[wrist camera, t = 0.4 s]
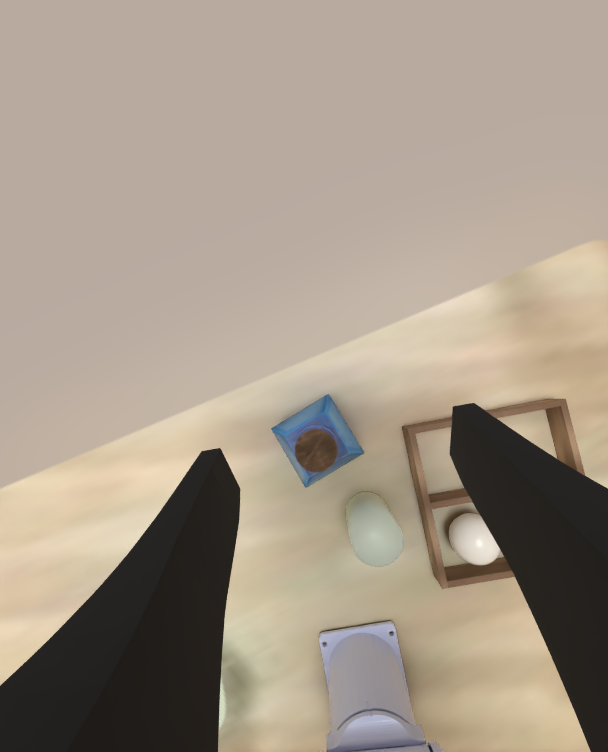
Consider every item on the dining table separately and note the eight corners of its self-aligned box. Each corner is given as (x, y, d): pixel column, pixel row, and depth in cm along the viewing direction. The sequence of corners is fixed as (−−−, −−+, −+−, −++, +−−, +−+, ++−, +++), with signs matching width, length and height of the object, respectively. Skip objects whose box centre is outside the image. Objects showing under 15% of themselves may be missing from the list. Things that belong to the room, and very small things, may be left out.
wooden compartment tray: (586, 549, 34) (606, 561, 31) (433, 575, 34) (442, 588, 32) (548, 398, 35) (565, 398, 33) (401, 426, 36) (407, 428, 33)
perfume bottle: (327, 394, 36) (330, 393, 24) (357, 443, 36) (374, 466, 24) (279, 423, 36) (259, 435, 24) (308, 472, 36) (301, 509, 24)
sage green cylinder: (392, 531, 35) (408, 562, 28) (350, 538, 35) (356, 570, 29) (383, 488, 35) (397, 508, 29) (341, 495, 36) (345, 517, 29)
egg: (491, 547, 34) (517, 570, 30) (447, 555, 34) (466, 579, 30) (481, 503, 35) (505, 519, 30) (437, 510, 35) (455, 528, 30)
